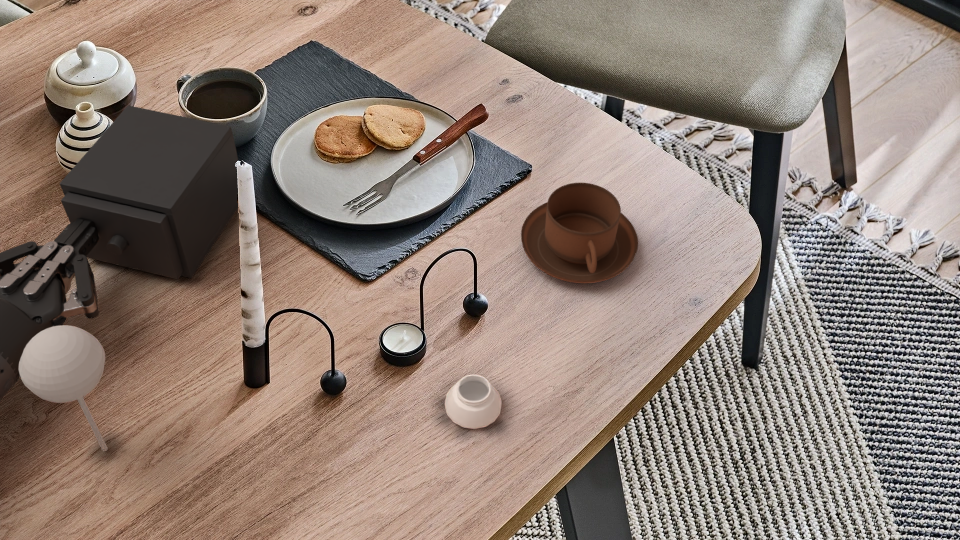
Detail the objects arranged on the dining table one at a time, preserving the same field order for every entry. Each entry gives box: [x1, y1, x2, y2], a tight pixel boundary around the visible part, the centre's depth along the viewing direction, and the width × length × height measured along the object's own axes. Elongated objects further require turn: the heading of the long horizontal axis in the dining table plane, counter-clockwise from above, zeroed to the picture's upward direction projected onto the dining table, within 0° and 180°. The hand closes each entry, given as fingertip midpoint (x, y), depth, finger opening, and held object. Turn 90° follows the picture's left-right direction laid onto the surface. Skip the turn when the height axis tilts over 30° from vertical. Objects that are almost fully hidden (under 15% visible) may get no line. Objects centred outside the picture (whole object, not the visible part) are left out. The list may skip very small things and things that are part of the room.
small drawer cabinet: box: [59, 105, 239, 279], centre depth 96 cm, size 13×12×10 cm
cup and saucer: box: [520, 182, 639, 284], centre depth 96 cm, size 12×12×6 cm
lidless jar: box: [444, 373, 503, 430], centre depth 84 cm, size 5×3×5 cm
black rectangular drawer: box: [60, 192, 184, 280], centre depth 94 cm, size 13×10×8 cm
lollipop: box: [19, 324, 109, 452], centre depth 75 cm, size 6×6×15 cm
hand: (89, 225), depth 90 cm, fingers closed
